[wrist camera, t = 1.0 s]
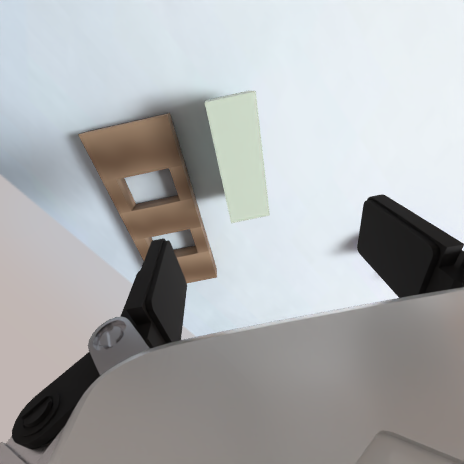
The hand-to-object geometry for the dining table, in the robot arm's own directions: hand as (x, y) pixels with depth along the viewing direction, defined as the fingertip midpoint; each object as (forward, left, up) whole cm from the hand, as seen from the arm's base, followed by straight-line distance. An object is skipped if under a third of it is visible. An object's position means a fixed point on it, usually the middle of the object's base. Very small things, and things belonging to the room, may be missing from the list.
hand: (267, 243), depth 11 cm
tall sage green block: (0, 0, -18) cm, 18 cm away
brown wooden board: (+6, -10, -18) cm, 22 cm away
